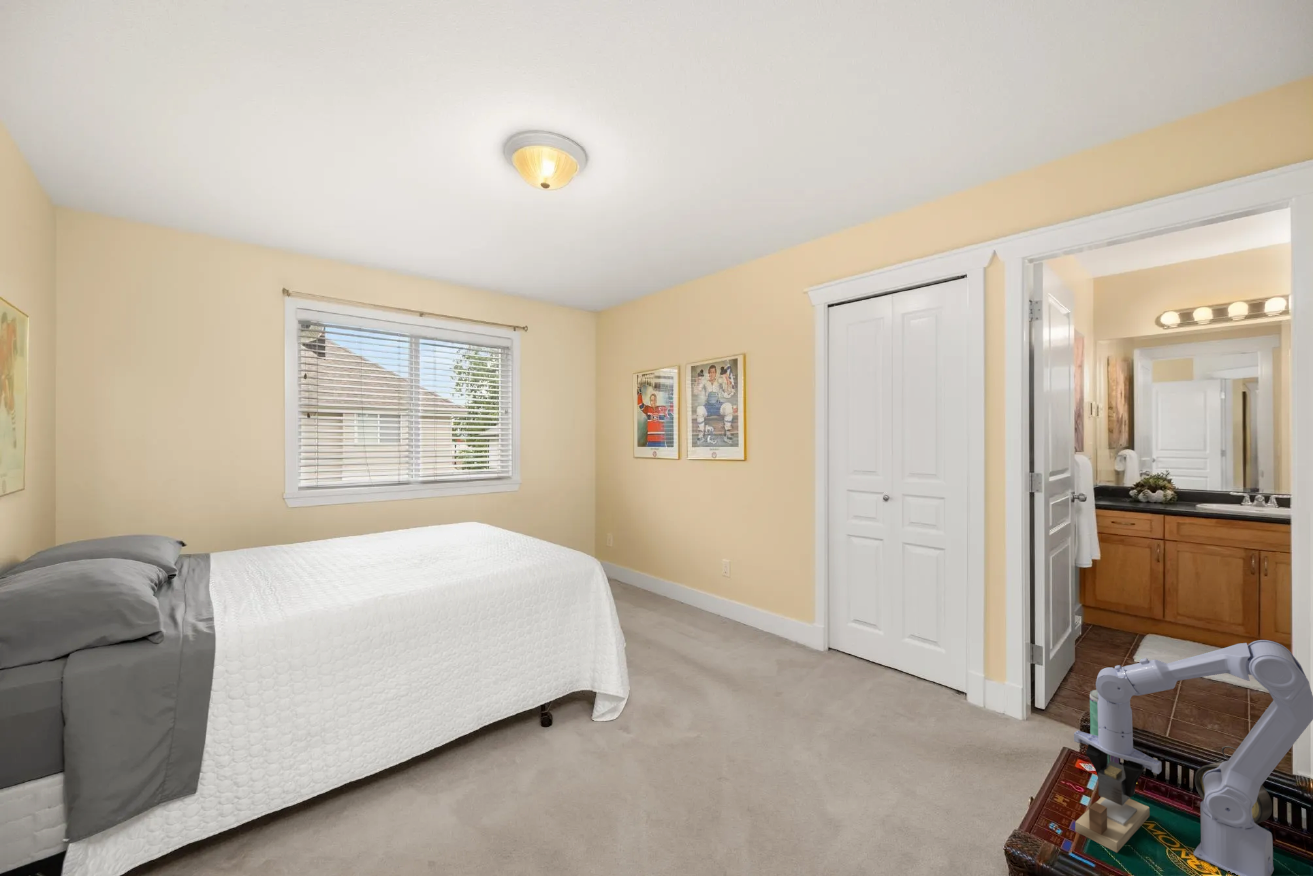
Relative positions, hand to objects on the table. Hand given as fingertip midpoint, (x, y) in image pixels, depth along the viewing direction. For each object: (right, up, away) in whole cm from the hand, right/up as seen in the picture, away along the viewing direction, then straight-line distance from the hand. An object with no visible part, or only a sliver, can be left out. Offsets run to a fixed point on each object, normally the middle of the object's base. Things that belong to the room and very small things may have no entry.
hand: (1116, 789), depth 117 cm
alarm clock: (+24, -6, -2) cm, 25 cm away
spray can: (+13, -6, +19) cm, 24 cm away
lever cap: (0, -1, 0) cm, 1 cm away
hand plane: (-2, -7, -1) cm, 7 cm away
